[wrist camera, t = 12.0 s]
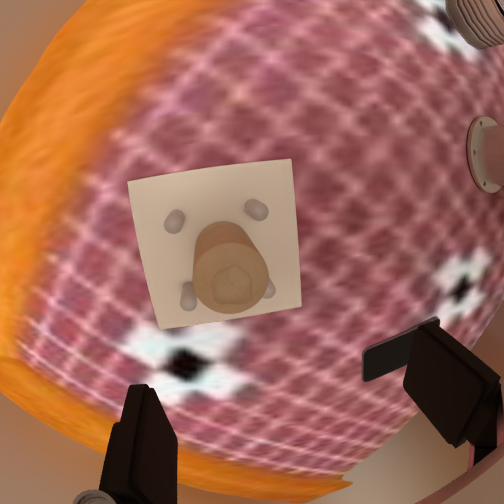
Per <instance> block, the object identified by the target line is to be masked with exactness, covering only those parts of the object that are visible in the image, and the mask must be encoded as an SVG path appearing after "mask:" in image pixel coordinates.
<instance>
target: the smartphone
mask: <svg viewBox="0 0 504 504" xmlns="http://www.w3.org/2000/svg"><path fill="white" fill-rule="evenodd" d="M430 321H432V322H434V323H436V324H437V325H438V326H440V319H439V318H438V317H433V318H430V319H428V320H426V321H424V322H422V323H420V324H418V325H416V326H414V327H412V328H410V329H408V330H406V331H404V332H401V333H399V334H397V335H395V336H393V337H390V338H388V339H386V340H384V341H381V342H379V343H377V344H374V345H372V346H370V347H368V348H366V349H365V350H364V351H363V353H362V380H363V382H369V381H371V380H374V379H376V378H379V377H381V376H383V375H386V374H388V373H390V372H392V371H395V370H397V369H399V368H401V367H403V366H405V365H408V360H409V356H410V351H411V347H412V342H413V337H414V333H415V331H416V330H417V328H418V326H420V325H422V324H425V323H427V322H430Z"/></svg>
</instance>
